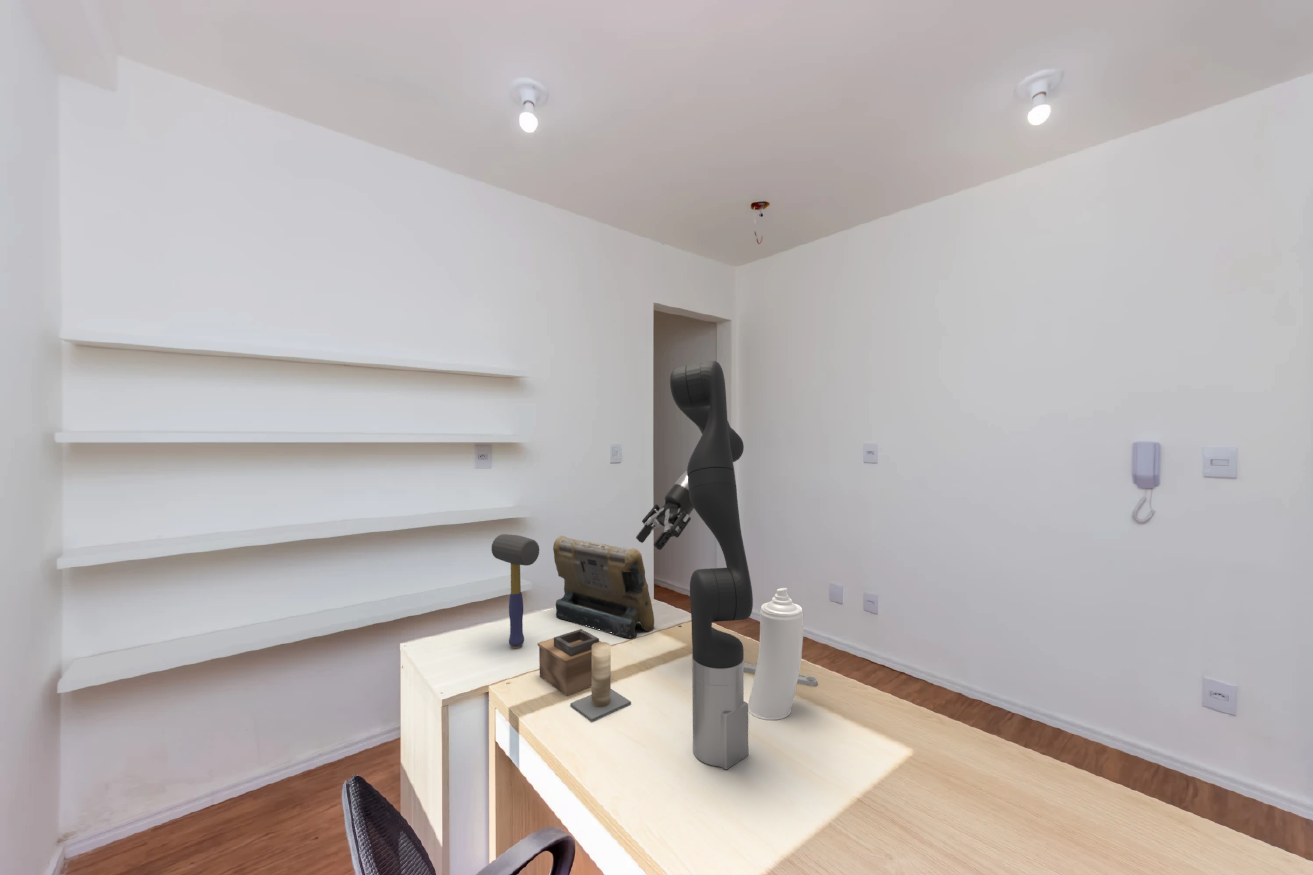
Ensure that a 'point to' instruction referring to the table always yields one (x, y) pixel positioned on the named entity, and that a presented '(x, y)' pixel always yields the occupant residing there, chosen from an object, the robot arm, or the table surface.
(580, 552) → the tablet
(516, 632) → the rubber mallet
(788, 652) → the spray can
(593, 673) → the wooden cylinder
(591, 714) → the rubber mat
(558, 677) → the wooden box
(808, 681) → the adjustable wrench
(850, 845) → the table surface
